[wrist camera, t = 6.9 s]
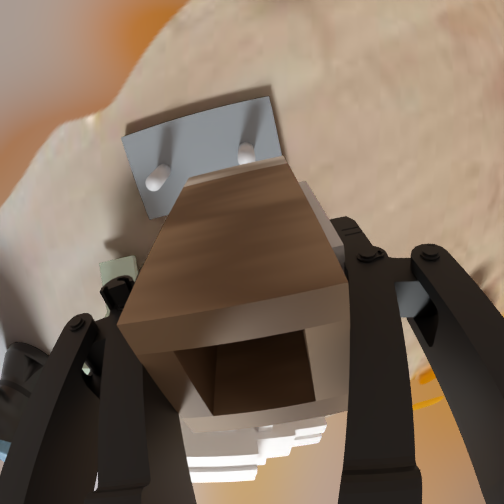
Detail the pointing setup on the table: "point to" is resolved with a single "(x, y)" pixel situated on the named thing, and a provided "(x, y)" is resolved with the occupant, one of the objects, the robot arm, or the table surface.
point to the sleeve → (243, 304)
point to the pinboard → (198, 149)
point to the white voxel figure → (244, 448)
